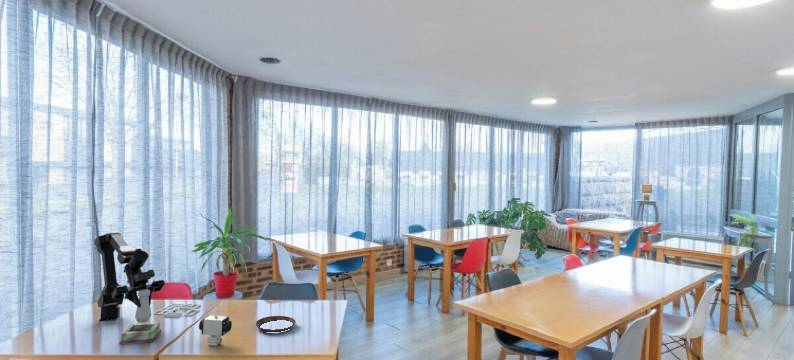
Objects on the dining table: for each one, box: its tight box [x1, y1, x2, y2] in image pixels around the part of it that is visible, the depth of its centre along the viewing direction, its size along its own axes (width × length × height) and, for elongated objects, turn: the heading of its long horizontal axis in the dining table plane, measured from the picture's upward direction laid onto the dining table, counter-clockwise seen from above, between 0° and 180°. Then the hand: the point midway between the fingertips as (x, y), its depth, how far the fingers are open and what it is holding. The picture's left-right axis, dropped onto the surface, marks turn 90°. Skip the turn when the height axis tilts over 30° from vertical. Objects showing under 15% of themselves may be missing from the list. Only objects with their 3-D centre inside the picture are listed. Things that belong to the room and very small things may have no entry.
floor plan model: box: [153, 302, 202, 319], centre depth 203 cm, size 19×25×2 cm
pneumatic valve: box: [198, 314, 233, 347], centre depth 166 cm, size 6×12×12 cm, turn 86°
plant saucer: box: [255, 315, 297, 333], centre depth 186 cm, size 18×18×3 cm
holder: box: [118, 322, 162, 345], centre depth 169 cm, size 12×12×4 cm
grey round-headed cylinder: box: [134, 289, 152, 324], centre depth 170 cm, size 6×6×13 cm
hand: (144, 306), depth 169 cm, fingers closed on grey round-headed cylinder, 3 cm apart
